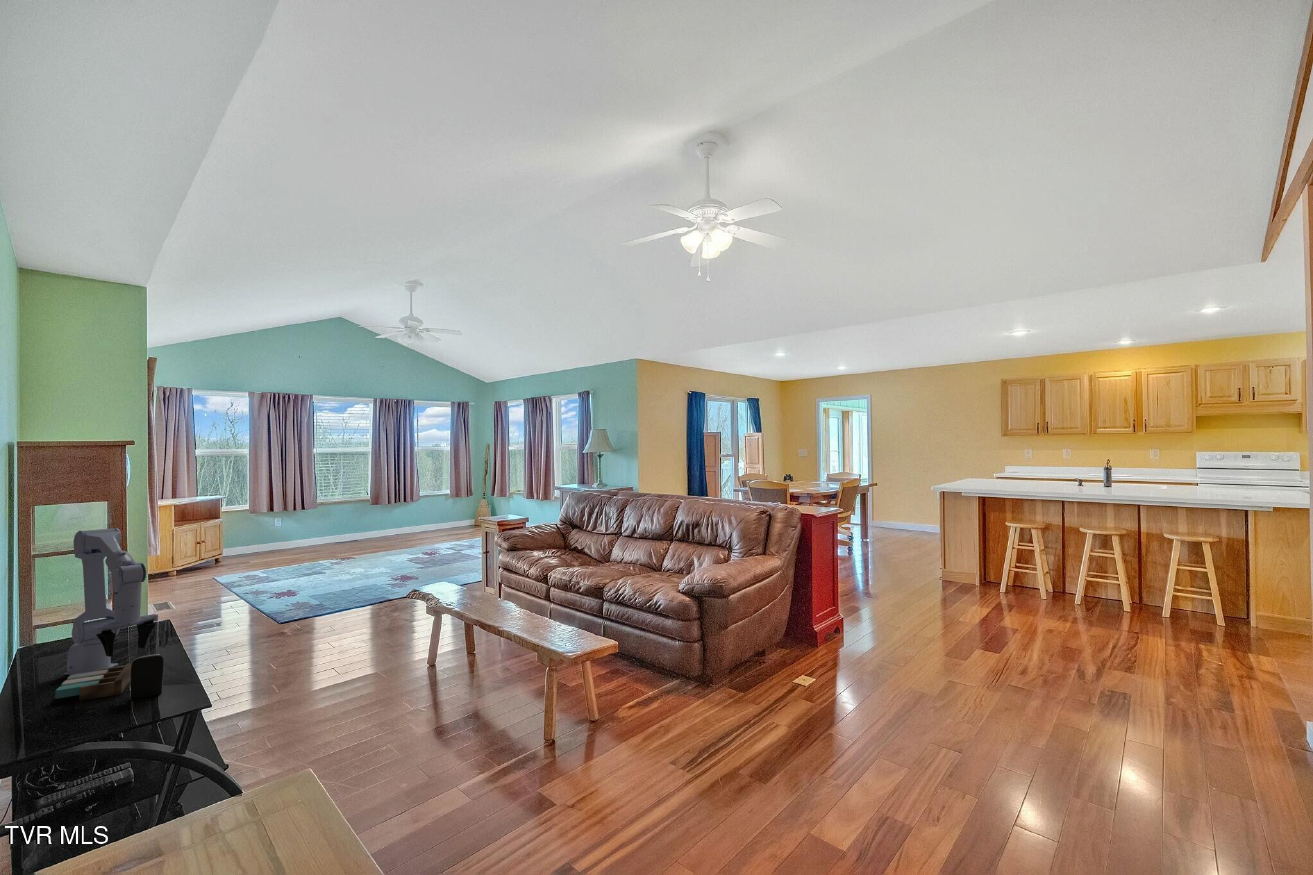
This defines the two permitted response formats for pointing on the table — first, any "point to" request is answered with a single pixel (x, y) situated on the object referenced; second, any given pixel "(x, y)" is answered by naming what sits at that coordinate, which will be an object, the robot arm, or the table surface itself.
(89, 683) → the teal flat slab
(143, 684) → the battery charger
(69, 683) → the off-white rectangular box
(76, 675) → the light grey rectangular block
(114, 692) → the walnut key block
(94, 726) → the table surface
